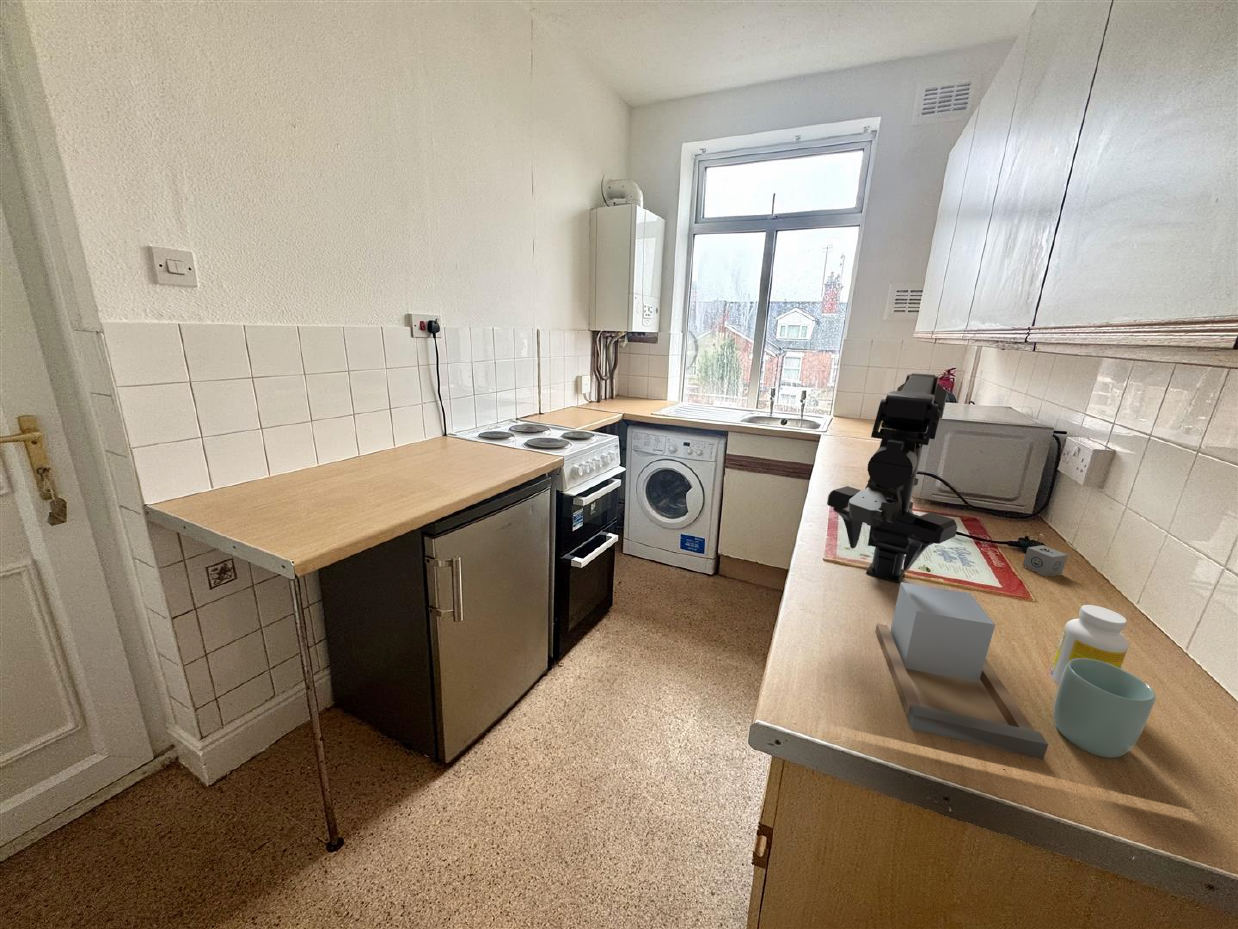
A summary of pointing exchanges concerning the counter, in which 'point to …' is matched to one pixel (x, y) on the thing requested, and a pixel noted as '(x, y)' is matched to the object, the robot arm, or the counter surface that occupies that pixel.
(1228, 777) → the counter surface
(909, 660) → the block
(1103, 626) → the supplement bottle
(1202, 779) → the counter surface
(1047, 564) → the dice cube
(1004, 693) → the chute
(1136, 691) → the cup
